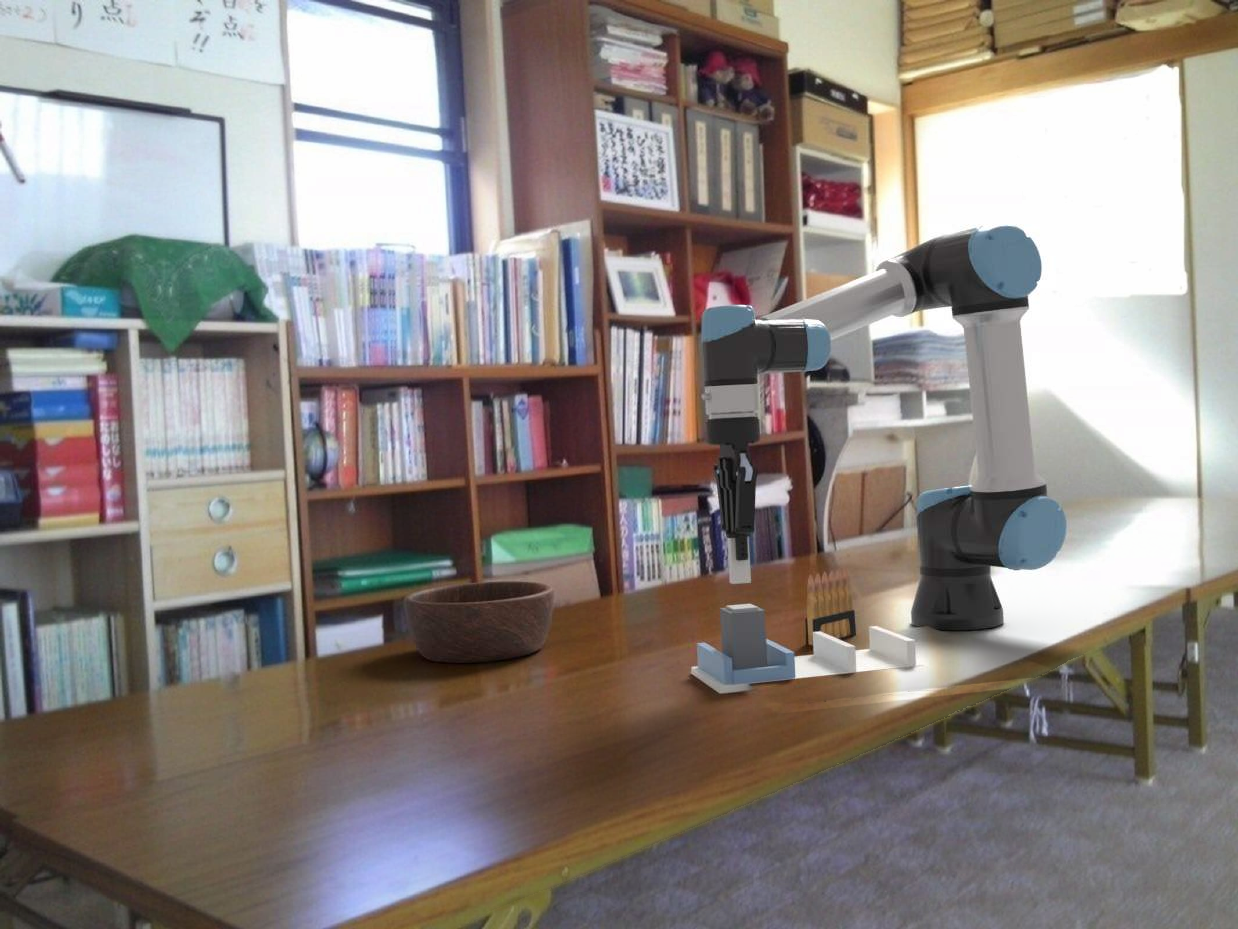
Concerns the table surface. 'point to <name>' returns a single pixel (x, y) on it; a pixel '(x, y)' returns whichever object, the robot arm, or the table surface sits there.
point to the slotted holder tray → (806, 661)
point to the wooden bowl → (480, 620)
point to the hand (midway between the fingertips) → (740, 582)
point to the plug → (744, 636)
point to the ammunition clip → (830, 606)
